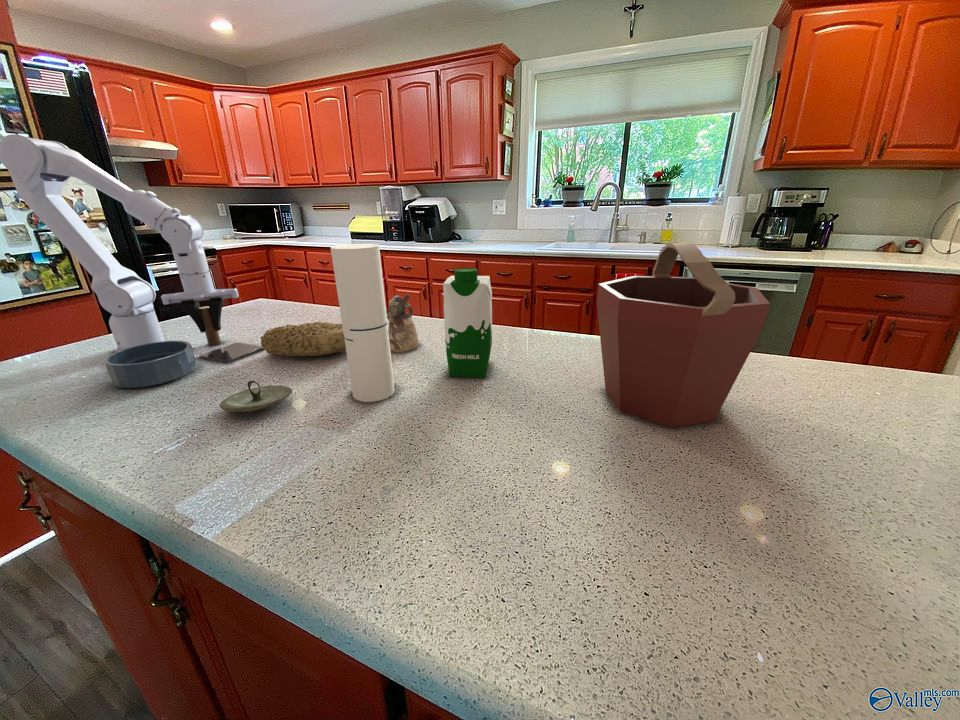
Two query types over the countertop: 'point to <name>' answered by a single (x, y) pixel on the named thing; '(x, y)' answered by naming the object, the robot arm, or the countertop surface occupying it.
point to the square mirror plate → (231, 352)
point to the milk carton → (468, 323)
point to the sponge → (304, 339)
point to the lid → (255, 398)
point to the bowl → (150, 363)
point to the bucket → (676, 338)
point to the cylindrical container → (364, 320)
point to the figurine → (401, 325)
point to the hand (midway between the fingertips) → (211, 330)
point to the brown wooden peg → (209, 326)
